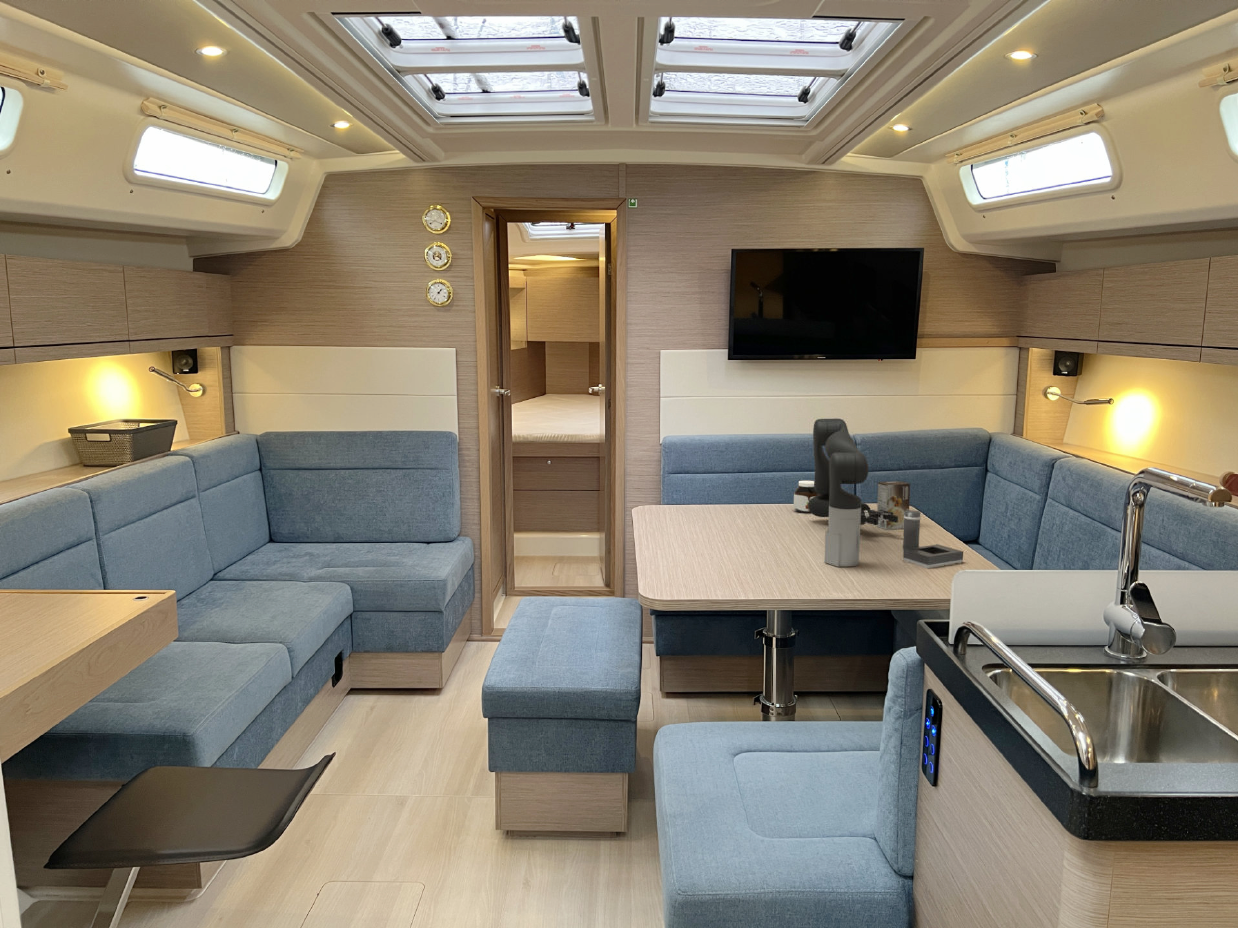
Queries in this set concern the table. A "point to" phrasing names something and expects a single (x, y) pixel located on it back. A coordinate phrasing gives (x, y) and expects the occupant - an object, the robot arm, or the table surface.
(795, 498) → the spread jar
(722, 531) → the table surface
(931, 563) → the dark rectangular frame
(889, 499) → the coffee box
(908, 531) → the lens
